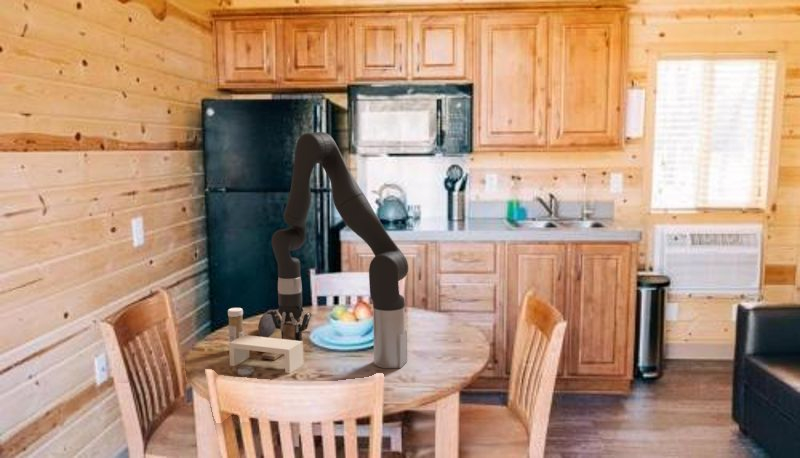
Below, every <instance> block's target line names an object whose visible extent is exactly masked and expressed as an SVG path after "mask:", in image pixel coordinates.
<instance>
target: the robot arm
mask: <svg viewBox="0 0 800 458" xmlns="http://www.w3.org/2000/svg"><path fill="white" fill-rule="evenodd" d="M294 151H295V152H294V158H293V169H292V177H291V187H290V191H289V195H288V198H287V202H286V205H285V209H284V211H283V212H284V213H283V220H284V222H285V223H286V224H287V225H290V226H289V228H285V229H284V228H283V229H282V228H281V229H279V230H276V231H274V233H273V235H272V236H271V247H272V250H273V254H274V257H275V260H276V263H277V274H278V275H277V276H278V280H277V291H278V292H277V296H278V300H277V301H278V308H277V309H272V310H273V311H272V312H271V315H272V318H273V321H274V324H275V327H276V329H277V330H280V333H281V339H283V324H286V323H288V322H289V321H290V322H292V324H293V325H294V326H295V331H296V333H295V338H296V341H303V334H302V333H303V332H304V331H306V330H307V329H308V326H309V323H310V320H311V316H312V313H311V312H305V311H304V309H303V287H302V286H303V285H302V277H301V276H302V275H301V261H300V260H299V258H297V257H292V255H291V251H296V250H299V249H301V247H303V245H304V243H305V240H306V235H307V234H306V228H307V227H306V220H307V219H308V218H307V217H308V215H309V211H310V207H311V203H312V192H311V183H310V181H311V176H312V172H313V170H314V169H315V165H317V164H319V165H320V166H321V167H322V169H323V171H325V173H326V175H327V176H328V179H329V181H330V185H331V193H332V200H333V205H334V207H335V209H336V211H337V212H338V215H339V216H340V217H341V220H343V222H344V224H345V225H346V226H347V227H348V228H349V229H350V230H351V231H352V232H353V233H355V235H357V236H358V237H360V238H361V239H362V241H364V242H365V243H366V244H367V246H368V247H369V248H370V250H371V252H372V253H373V255H374V257H373V258H372V259H371V261H370V264H369V267H368V268H369V269H368V280H369V281H368V282H369V296H370V299H371V300H372V311H373V312H372V322H373V323H372V324H373V325H372V328H373V332H372V333H373V364H374V366H376V367H378V368H381V369H401V368H403V366H404V365H405V364H406V363H407V362H408V331H407V330H405V327H406V325H405V324H406V322H405V320H406V319H405V318H406V317H405V315H406V314H405V312H406V311H405V310H406V309H405V297H404V296H403V295H401V294H400V290H399V287H400V286H399V285H400V284H399V281H401V280H403V279H404V278H406V276H407V275H408V273H409V272H408V271H409V264H408V261H407V258H406V256H405V255H404V253H403V252H402V251H401V249H400V248H399V246H397V244H396V243H395V242H394V240H393V239H392V237H391V236H390V235H389V234H388V232H387V230H386V229H385V227H384V225H383V223H382V222H381V220H380V218H379V217H378V215H377V214H376V212H375V211H374V209H373V207H372V206H371V203H370V202H369V200H368V198H367V197H366V195H365V194H364V192H363V191H362V189H361V188H360V186H359V184H358V183H357V181H356V180H355V177H354V176H353V175H352V173H351V171H350V170H349V167H348V166H347V163H346V162H345V160H344V158H343V155H342V153H341V150H340V149H339V147H338V145H337V143H336V141H335V140H334V138H333V137H332V135H330V134H329V133H327V132H323V131H321V132H320V131H319V132H318V131H317V132H307V133H306V132H305V133H304V134H302V135H301V136H299V138H298V139H297V142H296V145H295V150H294ZM280 316H281V317H280ZM301 319H302V320H301ZM276 329H275V330H276Z"/></svg>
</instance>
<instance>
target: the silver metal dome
mask: <svg viewBox="0 0 800 458" xmlns="http://www.w3.org/2000/svg"><path fill="white" fill-rule="evenodd" d="M254 369H255V368H254V367H253V366H247V365H246V366H241V367H238V368H237V375H238V376H240V377H248V376H252V375H254V373H255V370H254ZM241 375H243V376H241Z"/></svg>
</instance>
